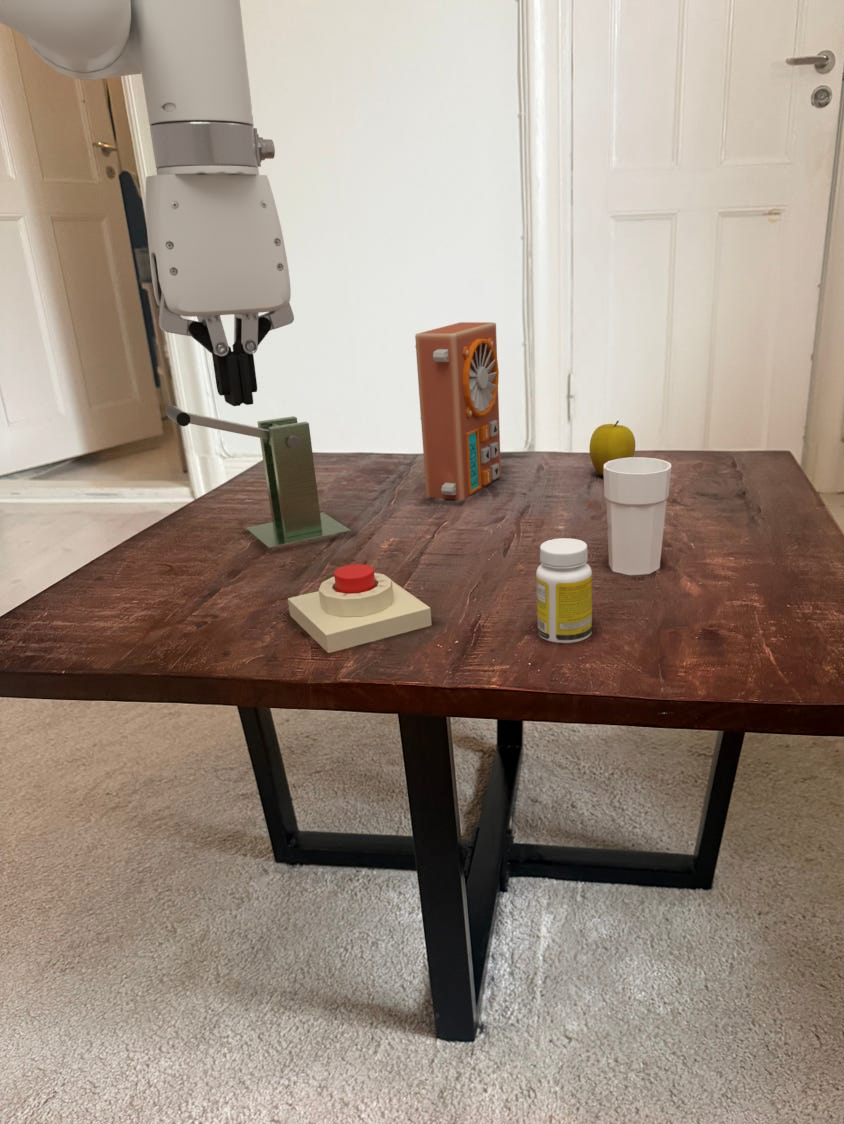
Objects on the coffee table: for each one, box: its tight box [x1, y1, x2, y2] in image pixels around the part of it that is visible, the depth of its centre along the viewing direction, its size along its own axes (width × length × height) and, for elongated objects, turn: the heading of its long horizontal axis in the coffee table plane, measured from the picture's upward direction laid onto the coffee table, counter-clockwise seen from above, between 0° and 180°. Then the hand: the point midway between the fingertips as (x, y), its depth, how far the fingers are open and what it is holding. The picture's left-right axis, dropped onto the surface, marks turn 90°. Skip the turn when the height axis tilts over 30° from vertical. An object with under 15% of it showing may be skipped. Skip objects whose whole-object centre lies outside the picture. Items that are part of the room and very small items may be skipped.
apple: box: [589, 420, 636, 477], centre depth 124 cm, size 6×6×8 cm
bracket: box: [245, 415, 351, 548], centre depth 104 cm, size 10×9×14 cm
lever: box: [165, 405, 280, 445], centre depth 99 cm, size 14×5×2 cm, turn 120°
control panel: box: [414, 321, 502, 501], centre depth 116 cm, size 21×7×15 cm
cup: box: [603, 456, 672, 576], centre depth 90 cm, size 7×7×11 cm
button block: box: [287, 572, 433, 654], centre depth 82 cm, size 10×10×4 cm
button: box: [333, 563, 376, 594], centre depth 81 cm, size 4×4×2 cm
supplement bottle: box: [535, 537, 593, 644], centre depth 77 cm, size 5×5×8 cm
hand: (239, 402), depth 75 cm, fingers closed
